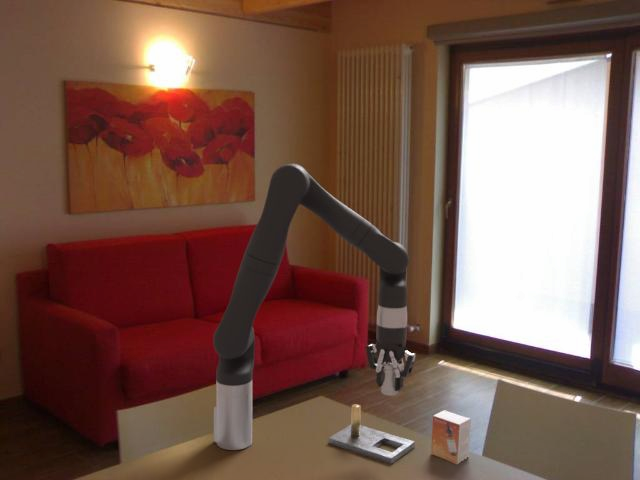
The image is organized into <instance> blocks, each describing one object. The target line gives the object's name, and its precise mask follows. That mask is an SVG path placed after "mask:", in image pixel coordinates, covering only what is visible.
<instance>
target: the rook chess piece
mask: <svg viewBox="0 0 640 480" xmlns="http://www.w3.org/2000/svg"><path fill="white" fill-rule="evenodd" d="M384 367H385V369H384V371H385V379H384V382H383V385H382V386H381V387H380V388H381V389H380V392H381V394H383V395H384V396H390V397H391V396H396V395H397V394H398V393H399V391H395V377H396V373H395V369H394V368H393V365H392V363H390V362H385V365H384Z"/></svg>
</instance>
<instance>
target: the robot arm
mask: <svg viewBox="0 0 640 480" xmlns="http://www.w3.org/2000/svg"><path fill="white" fill-rule="evenodd" d="M267 189H268V190H267V195H266V199H265V202H264V207H263V210H262V212H261V215H260V217H259V219H258V221H257V224H256V226H255V228H254V230H253V232H252V234H251V236H250V239H249V240H248V241H249V242H248V244H247V245H246V248H245V251H244V254H243V257H242V259H241V263H240V265H239V269H238V271H237V275H236V278H235V281H234V285H233V289H232V293H231V296H230V300H229V303H228V305H227V307H226V310H225V311H224V314H223V316H222V318H221V320H220V322H219V324H218V326H217V328H216V330H215V332H214V333H213V338H212V339H213V340H212V341H213V347H214V350H215V352H216V354H218V355H219V358H218V363H217V367H216V372H215V374H216V377H215V379H216V383H215V384H216V388H215V389H216V405H215V406H214V407H213V442H214V443H215V444H216V446H218V448H220V449H223V450H225V451H226V450H228V451H238V450H239V451H240V450H244V449H247V448H249V447H250V446H251V445H252V444H253V371H254V368H255V367H254V366H255V347H256V345H255V343H256V342H255V339H256V338H255V337H256V335H255V330H254V326H253V325H254V322H255V318H256V316H257V313H258V311H259V309H260V307H261V305H262V303H263V302H264V300H265V298H266V296H267V295H268V293H269V291H270V289H271V287H272V285H273V283H274V281H275V279H276V276H277V274H278V271H279V269H280V266H281V263H282V260H283V256H284V253H285V249H286V245H287V238H288V234H289V230H290V226H291V223H292V221H293V218H294V216H295V215H296V212H297V209H298V207H299V206H300V205H301V206H302V207H305V208H306V209H308V210H309V211H311V212H312V213H313V214H314V215H316V216H317V217H319V219H321V220H322V221H323V222H324V223H325V224H326V225H327V226H328V227H329V228H331V230H333V232H334V233H336V234H337V235H338V236H340V237H341V238H342V239H343V240H345V241H346V242H347V243H349V244H350V245H352V246H353V247H354V248H355V249H357V250H359V251H360V252H362V253H363V254H364V255H366V256H367V258H369V259H370V260H371V261H372V262H373V263H374V264H375V265H377V266H378V267H379V288H378V305H377V312H376V336H375V337H376V342H375V344H374V343H370V344H368V345H366V346H365V351H366V355H367V359H368V365H369V367H370V369H373V370H375V372H376V382H375V383H376V384H377V387H379V388H381V386H382V385H383V382H384V379H385V370H386V369H385V367H384V365H385V362H388V363H389V362H390V363H392V365H393V368H394V369H395V391H398V392H400V391H401V390H402V389H403V387H404V378H406V377H407V376H409V375H411V374H412V371H413V368H414V366H415V362H416V361H417V357H418V355H417V353H415V352H413V353H411V352H410V351H408V349H407V346H406V345H407V343H406V342H407V338H408V337H407V336H408V335H407V334H408V333H407V332H408V329H407V328H408V308H407V303H408V289H407V288H408V287H407V282H406V281H407V268H408V266H409V264H410V257H409V253H408V251H407V249H406V248H405V246H404V245H402V244H401V243H400V242H398V241H397V242H396V241H393V240H391V239H390V238H388V237H387V236H386V235H384V234H383V233H382V232H381V231H380V230H379V229H378V228H377V227H376V226H375V225H373V224H372V223H371V222H370V221H368V220H367V219H366V218H364V217H362V216H361V215H360V214H359V213H357V212H355V211H354V210H353V209H351V208H350V207H348V206H347V205H345V203H343V202H341V201H340V200H338V199H337V198H335V197H334V196H333V195H332V194H331V193H330V192H328V191H327V190H325V188H323V187H322V185H320V184H319V183H318V182H317V181H316V180H315V178H313V177H312V176H311V175H310V173H309V172H308V171H307V170H306V169H305V167H303V166H301V165H300V164H298V163H285V164H283V165H281V166H279V167H278V168H276V169H275V170H274V172H273V173H272V175H271V177H270V182H269V185H268V188H267ZM377 354H378V355H379V356H378V355H377ZM404 357H405V359H404ZM404 360H405V363H404Z"/></svg>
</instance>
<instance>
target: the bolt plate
mask: <svg viewBox="0 0 640 480" xmlns="http://www.w3.org/2000/svg"><path fill="white" fill-rule="evenodd" d="M361 409H362V406H361V404H358V403H354V404H352V405H351V416H350V417H351V418H350V419H351V420H350V424H349V425H348V426H346V427H345V428H343V429H341V430H340V431H338V432H336V433H334V434H332V435H331V436H329V437H328V444H330V445H332V446H336V447H339V448H342V449H345V450H348V451H351V452H353V453H356V454H360V455H362V456H366V457H369V458H372V459H375V460H377V461H381V462H383V463H386V464H390V465H393V464H394V463H395V462H396V461H398V460H399V459H400V458H402V457H403V456H405V454H407V453H408V452H411V451H412V450H413V449H414V448H416V447H415V445H416V441H414V440H412V439H408V438H405V437H401V436H397V435H394V434H391V433H387V432H385V431H381V430H378V429H375V428H370V427H368V426H365V425H361V418H362V417H361V413H362V410H361ZM384 444H386V445H389V446H392V447H395V448H396V449H395V450H394V451H389V450H387V449H384V448H380V446H382V445H384Z"/></svg>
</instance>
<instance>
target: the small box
mask: <svg viewBox="0 0 640 480" xmlns="http://www.w3.org/2000/svg"><path fill="white" fill-rule="evenodd" d="M471 421H472V419H471V417H467V416H463V415H460V414H457V413H454V412H451V411H448V410H446V409H445V410H441V411H440V412H438V413H435V414H433V416H432V428H431V429H432V430H431V440H430V441H431V445H430V454H431V455H433V456H436V457H439V458H441V459H444V460H445V461H447V462H450V463H453V464H454V465H459V464H460V463H462V462H463V461H465V460H466V459H468V458H469V457H470V440H471V423H472V422H471ZM467 457H468V458H467ZM464 459H465V460H464ZM461 461H462V462H461Z"/></svg>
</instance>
